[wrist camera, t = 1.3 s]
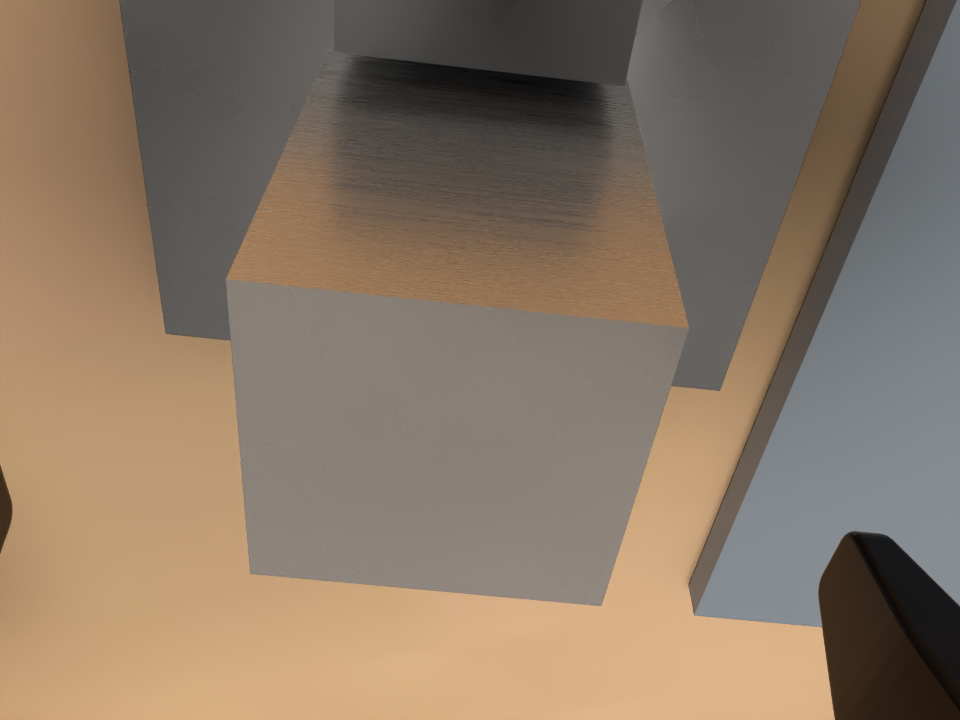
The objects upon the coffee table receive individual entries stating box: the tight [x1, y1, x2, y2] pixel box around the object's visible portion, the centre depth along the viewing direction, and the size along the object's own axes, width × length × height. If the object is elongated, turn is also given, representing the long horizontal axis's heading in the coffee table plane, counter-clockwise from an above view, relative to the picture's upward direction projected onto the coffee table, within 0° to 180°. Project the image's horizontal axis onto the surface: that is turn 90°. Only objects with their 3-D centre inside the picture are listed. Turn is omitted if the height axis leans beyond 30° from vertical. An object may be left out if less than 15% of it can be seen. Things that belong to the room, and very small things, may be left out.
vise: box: [119, 0, 861, 391], centre depth 16 cm, size 12×10×4 cm
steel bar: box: [226, 39, 689, 606], centre depth 13 cm, size 4×4×8 cm
